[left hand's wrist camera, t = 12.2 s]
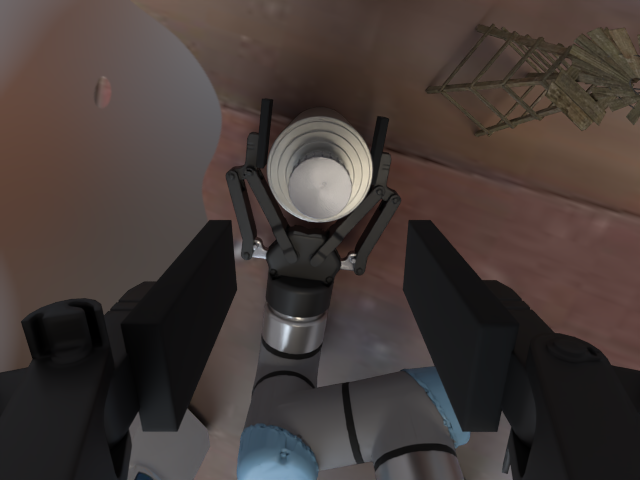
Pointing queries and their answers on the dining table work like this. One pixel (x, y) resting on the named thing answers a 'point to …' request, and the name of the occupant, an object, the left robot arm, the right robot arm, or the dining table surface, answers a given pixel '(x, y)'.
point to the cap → (320, 185)
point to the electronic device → (168, 451)
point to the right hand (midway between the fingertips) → (325, 108)
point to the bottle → (316, 136)
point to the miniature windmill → (562, 77)
